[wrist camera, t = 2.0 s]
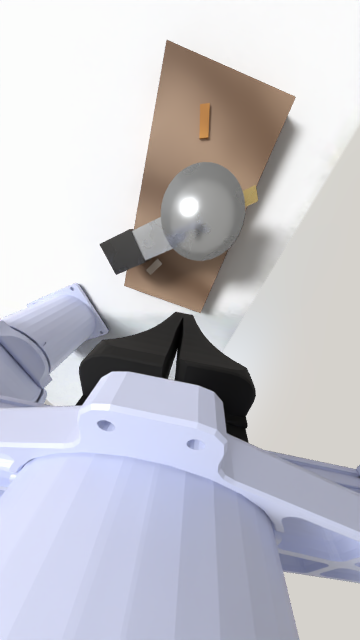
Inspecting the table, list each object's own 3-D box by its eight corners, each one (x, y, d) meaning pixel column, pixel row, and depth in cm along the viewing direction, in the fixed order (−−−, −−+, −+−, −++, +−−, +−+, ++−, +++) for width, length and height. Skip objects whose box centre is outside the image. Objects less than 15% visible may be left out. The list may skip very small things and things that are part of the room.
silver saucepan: (241, 152, 12) (252, 130, 10) (256, 236, 15) (268, 237, 12) (104, 224, 16) (85, 222, 13) (134, 283, 18) (123, 292, 15)
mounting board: (128, 282, 21) (120, 288, 19) (170, 59, 13) (163, 23, 10) (200, 308, 22) (200, 316, 19) (286, 110, 13) (303, 85, 11)
